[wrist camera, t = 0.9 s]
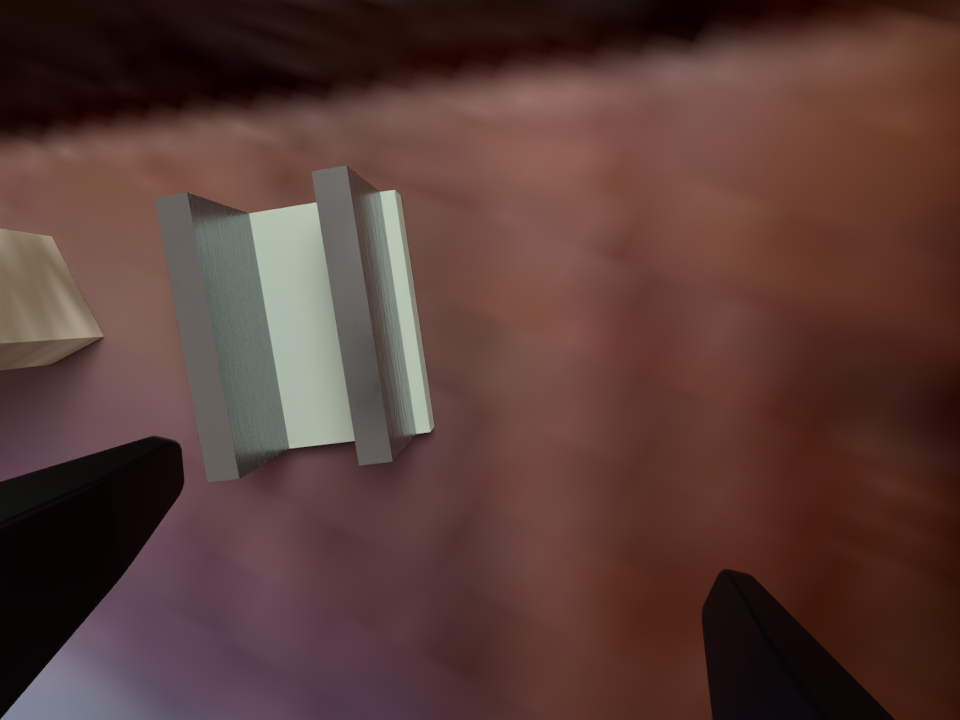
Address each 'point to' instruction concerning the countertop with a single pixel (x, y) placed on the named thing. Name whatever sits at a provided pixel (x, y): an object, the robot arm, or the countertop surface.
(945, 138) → the countertop surface
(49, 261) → the ash slab
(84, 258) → the countertop surface
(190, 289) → the grey channel bracket
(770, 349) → the countertop surface
